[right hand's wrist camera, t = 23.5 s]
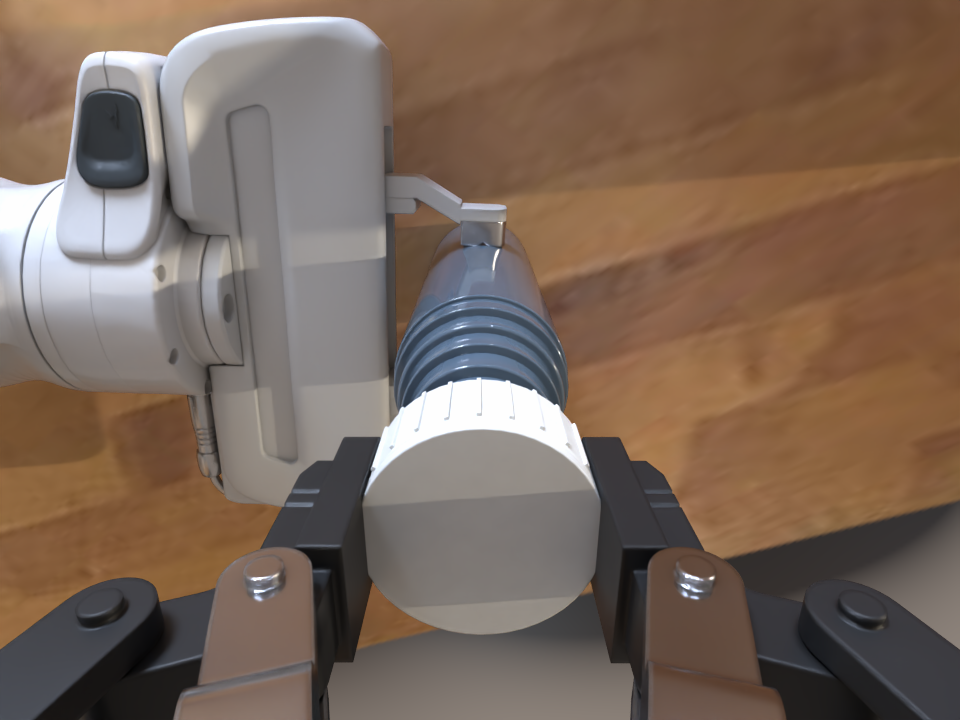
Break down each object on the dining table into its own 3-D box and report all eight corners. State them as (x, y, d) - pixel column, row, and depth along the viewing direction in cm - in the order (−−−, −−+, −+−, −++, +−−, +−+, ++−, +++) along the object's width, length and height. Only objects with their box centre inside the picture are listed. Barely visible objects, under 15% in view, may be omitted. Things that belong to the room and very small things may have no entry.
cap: (633, 459, 12) (663, 522, 10) (496, 594, 13) (499, 674, 11) (463, 331, 11) (458, 372, 9) (332, 489, 12) (304, 556, 10)
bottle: (475, 199, 29) (467, 334, 10) (548, 265, 30) (673, 504, 11) (412, 274, 31) (292, 525, 11) (484, 334, 32) (492, 658, 12)
